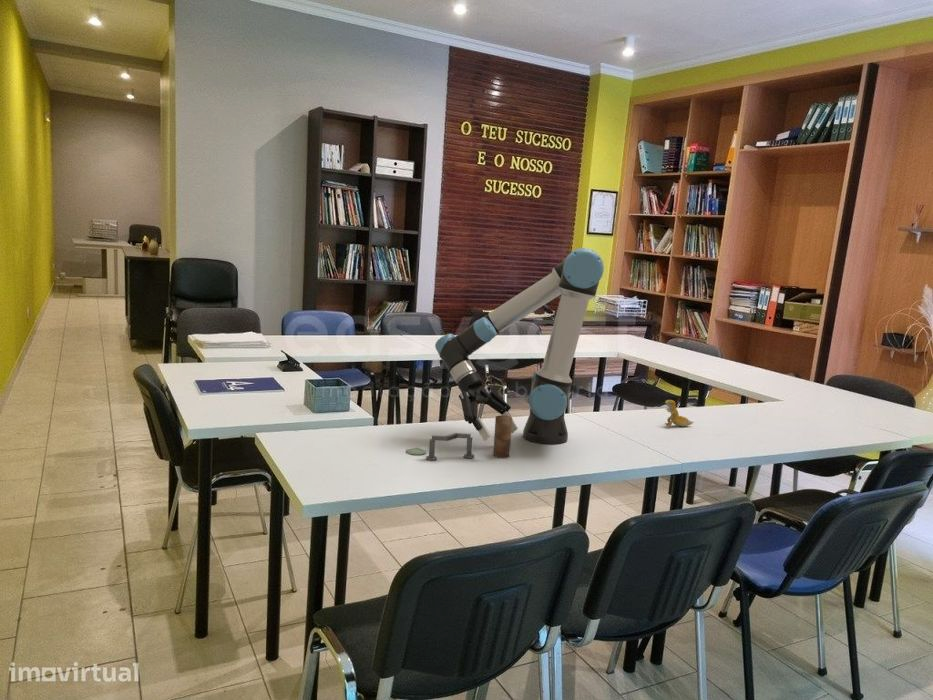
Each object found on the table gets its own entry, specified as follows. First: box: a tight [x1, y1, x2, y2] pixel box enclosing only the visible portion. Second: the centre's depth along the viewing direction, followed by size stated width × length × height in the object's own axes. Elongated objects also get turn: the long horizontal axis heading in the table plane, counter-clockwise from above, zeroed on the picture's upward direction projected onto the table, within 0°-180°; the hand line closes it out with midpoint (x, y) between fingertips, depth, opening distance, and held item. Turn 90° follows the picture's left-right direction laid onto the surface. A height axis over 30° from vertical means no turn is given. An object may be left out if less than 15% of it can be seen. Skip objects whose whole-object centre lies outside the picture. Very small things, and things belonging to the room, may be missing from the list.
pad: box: [406, 447, 427, 456], centre depth 204 cm, size 6×6×1 cm
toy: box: [664, 399, 694, 429], centre depth 254 cm, size 7×15×10 cm, turn 108°
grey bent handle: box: [425, 432, 475, 462], centre depth 199 cm, size 15×4×7 cm, turn 113°
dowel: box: [492, 414, 513, 459], centre depth 204 cm, size 5×5×12 cm
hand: (501, 434), depth 204 cm, fingers open, 13 cm apart
